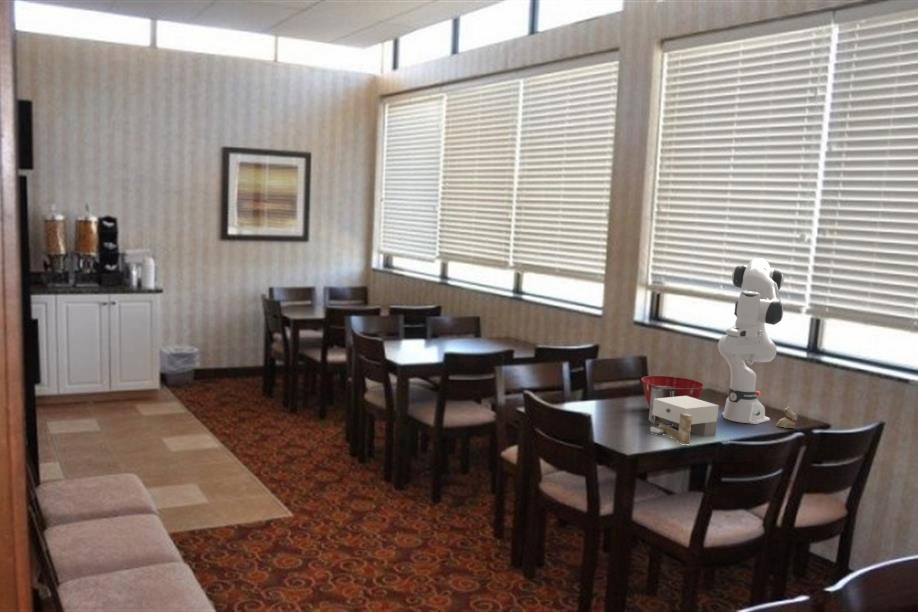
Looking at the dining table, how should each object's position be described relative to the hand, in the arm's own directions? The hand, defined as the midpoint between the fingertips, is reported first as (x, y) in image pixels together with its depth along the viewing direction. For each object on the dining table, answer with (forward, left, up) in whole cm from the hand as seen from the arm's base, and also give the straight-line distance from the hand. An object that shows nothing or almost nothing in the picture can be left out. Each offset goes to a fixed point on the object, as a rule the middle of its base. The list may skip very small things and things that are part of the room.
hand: (742, 364), depth 333 cm
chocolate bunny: (-48, -10, -33) cm, 59 cm away
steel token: (+20, -23, -33) cm, 45 cm away
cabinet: (+7, -21, -33) cm, 40 cm away
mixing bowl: (-12, -47, -33) cm, 59 cm away
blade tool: (+19, -16, -33) cm, 41 cm away
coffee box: (+5, -36, -33) cm, 49 cm away
